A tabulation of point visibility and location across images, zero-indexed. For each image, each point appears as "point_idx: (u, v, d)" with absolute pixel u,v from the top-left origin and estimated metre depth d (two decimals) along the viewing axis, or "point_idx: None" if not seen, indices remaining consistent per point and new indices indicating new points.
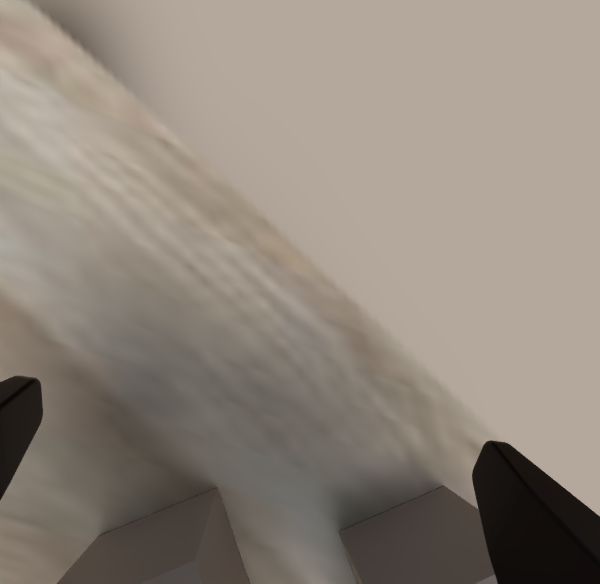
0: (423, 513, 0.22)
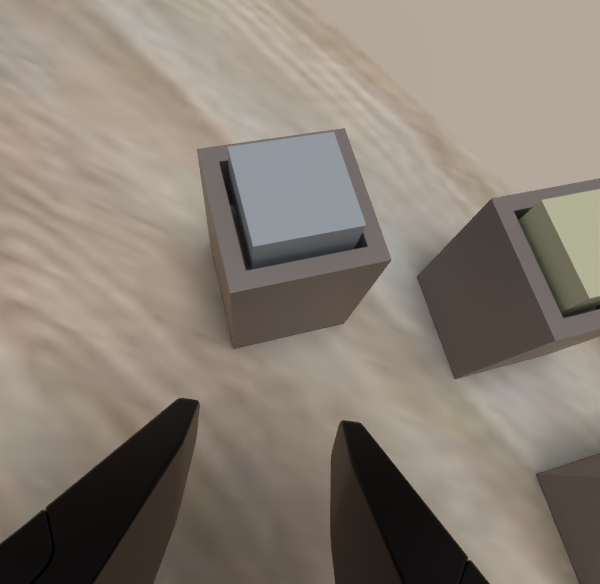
0: None
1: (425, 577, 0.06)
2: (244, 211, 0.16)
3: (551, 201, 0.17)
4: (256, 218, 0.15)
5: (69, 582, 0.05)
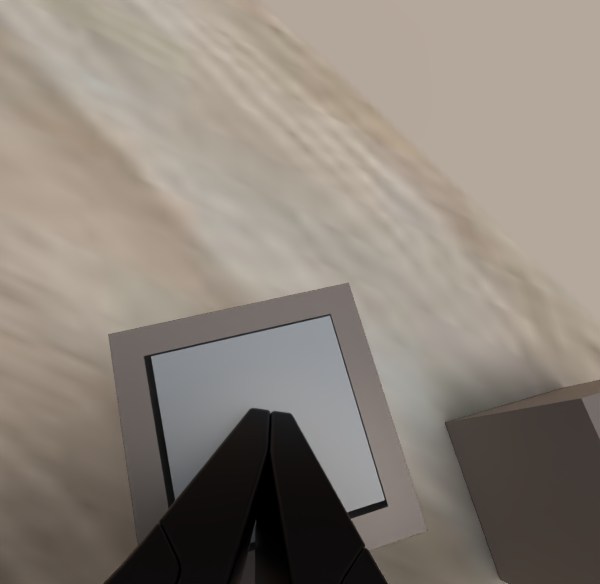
0: (555, 392, 0.18)
1: (312, 564, 0.05)
2: (174, 485, 0.09)
3: None
4: None
5: None
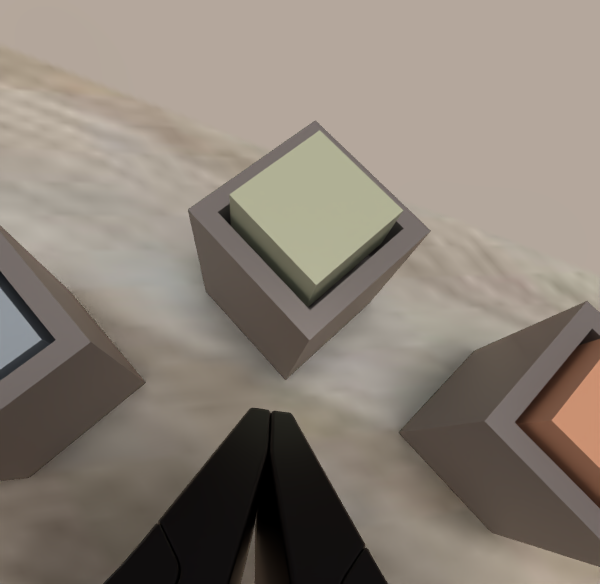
0: None
1: (312, 564, 0.05)
2: None
3: (241, 190, 0.15)
4: None
5: None
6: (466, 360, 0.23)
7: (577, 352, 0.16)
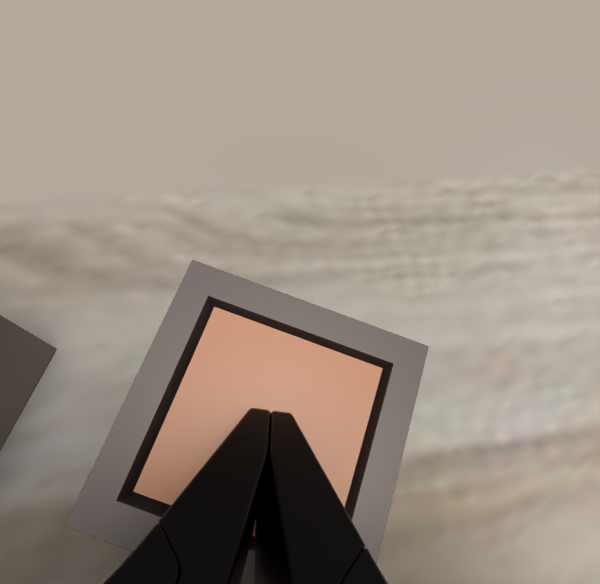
0: None
1: (312, 564, 0.05)
2: None
3: None
4: None
5: None
6: None
7: None
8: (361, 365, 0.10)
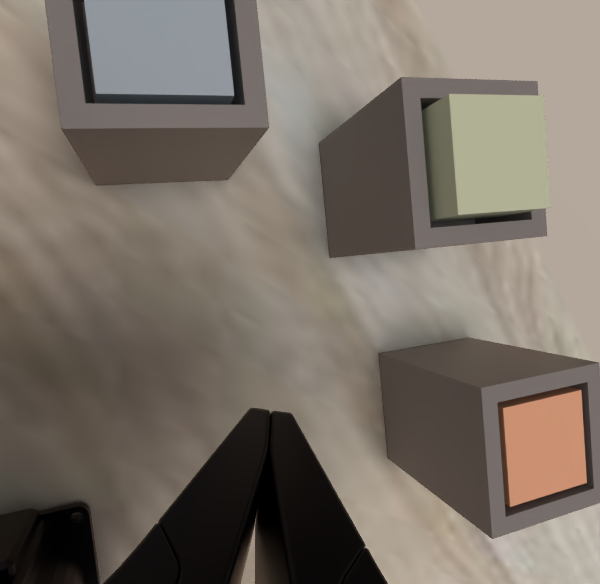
0: None
1: (312, 564, 0.05)
2: (90, 45, 0.13)
3: (458, 98, 0.15)
4: (104, 58, 0.13)
5: None
6: (459, 340, 0.27)
7: None
8: (584, 472, 0.19)
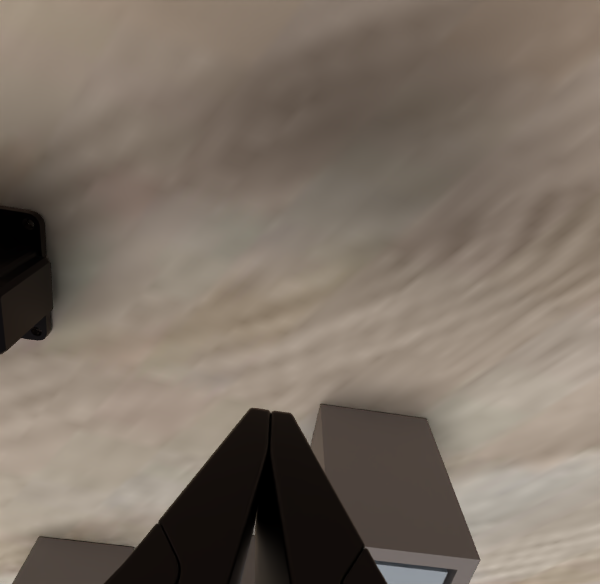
0: None
1: (312, 564, 0.05)
2: (383, 563, 0.18)
3: None
4: None
5: None
6: None
7: None
8: None
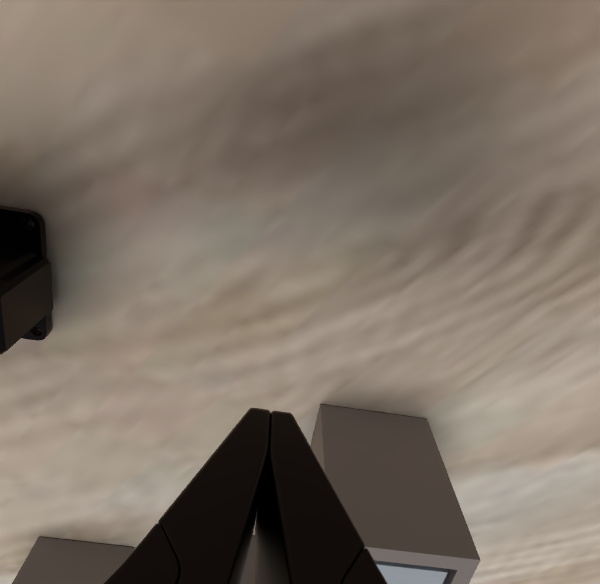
0: None
1: (312, 564, 0.05)
2: (383, 564, 0.18)
3: None
4: None
5: None
6: None
7: None
8: None
